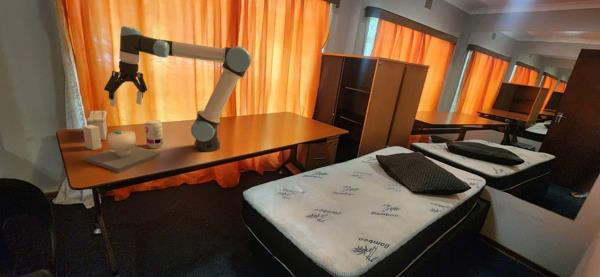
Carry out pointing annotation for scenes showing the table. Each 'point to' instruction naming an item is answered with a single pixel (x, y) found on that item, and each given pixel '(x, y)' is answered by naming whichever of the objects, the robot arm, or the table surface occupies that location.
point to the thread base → (121, 158)
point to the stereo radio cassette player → (98, 122)
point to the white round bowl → (121, 140)
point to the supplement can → (154, 133)
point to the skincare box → (92, 137)
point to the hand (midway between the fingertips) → (126, 104)
